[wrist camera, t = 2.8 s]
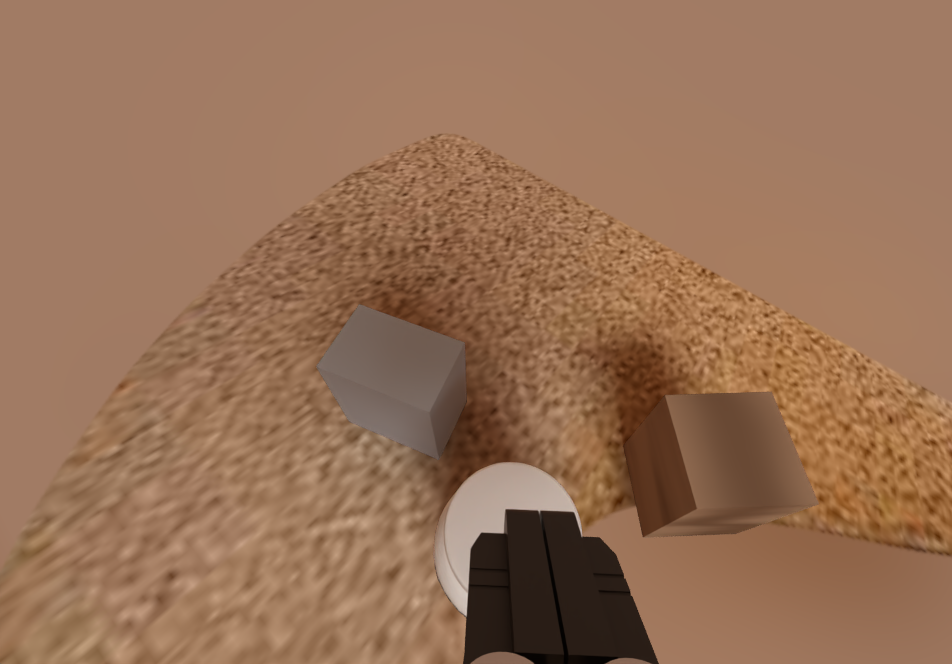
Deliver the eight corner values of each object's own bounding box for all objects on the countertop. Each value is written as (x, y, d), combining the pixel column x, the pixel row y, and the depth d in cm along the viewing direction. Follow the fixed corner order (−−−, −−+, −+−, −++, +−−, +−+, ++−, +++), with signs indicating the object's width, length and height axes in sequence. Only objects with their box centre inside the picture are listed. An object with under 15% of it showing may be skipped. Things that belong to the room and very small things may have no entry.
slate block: (466, 401, 29) (464, 342, 23) (439, 460, 27) (429, 412, 21) (381, 368, 30) (359, 304, 24) (349, 421, 28) (316, 366, 22)
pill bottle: (431, 522, 25) (410, 468, 16) (532, 493, 26) (561, 428, 17) (458, 646, 22) (448, 657, 13) (571, 608, 23) (628, 597, 14)
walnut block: (706, 442, 27) (771, 391, 21) (735, 533, 25) (819, 504, 19) (623, 445, 27) (665, 395, 21) (642, 537, 24) (697, 508, 19)
